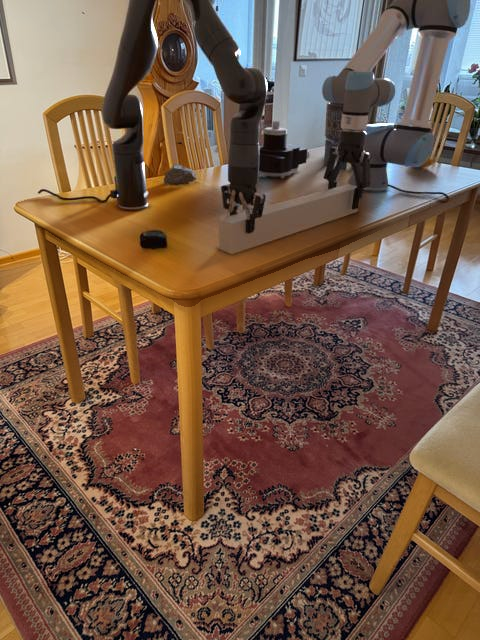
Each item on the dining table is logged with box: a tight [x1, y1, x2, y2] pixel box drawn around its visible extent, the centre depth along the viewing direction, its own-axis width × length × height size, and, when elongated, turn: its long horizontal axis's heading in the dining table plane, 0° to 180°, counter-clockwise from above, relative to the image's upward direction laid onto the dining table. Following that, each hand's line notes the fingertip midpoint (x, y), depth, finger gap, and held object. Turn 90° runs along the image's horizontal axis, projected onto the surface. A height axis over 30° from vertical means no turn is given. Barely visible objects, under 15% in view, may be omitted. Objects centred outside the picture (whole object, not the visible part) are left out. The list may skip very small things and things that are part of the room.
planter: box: [323, 102, 373, 172], centre depth 204 cm, size 20×20×26 cm
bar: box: [218, 183, 359, 255], centre depth 132 cm, size 56×5×8 cm, turn 134°
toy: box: [418, 156, 435, 169], centre depth 214 cm, size 11×6×15 cm
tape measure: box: [139, 229, 168, 250], centre depth 117 cm, size 7×7×4 cm
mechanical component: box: [259, 120, 311, 179], centre depth 191 cm, size 22×21×30 cm
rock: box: [163, 163, 198, 186], centre depth 176 cm, size 13×9×6 cm, turn 131°
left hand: (241, 229), depth 118 cm, fingers open, 5 cm apart
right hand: (342, 205), depth 146 cm, fingers open, 8 cm apart
